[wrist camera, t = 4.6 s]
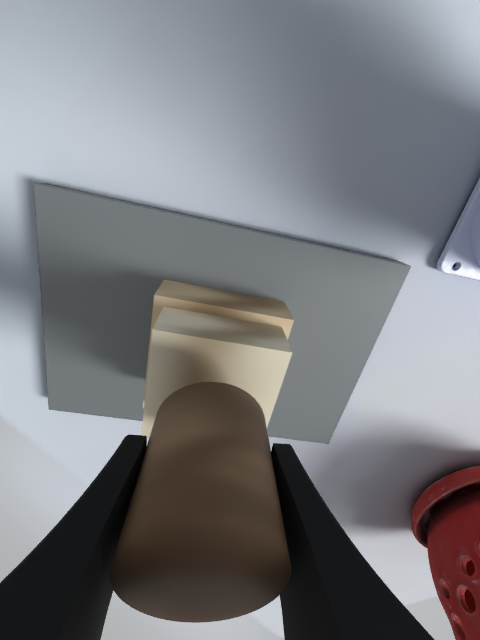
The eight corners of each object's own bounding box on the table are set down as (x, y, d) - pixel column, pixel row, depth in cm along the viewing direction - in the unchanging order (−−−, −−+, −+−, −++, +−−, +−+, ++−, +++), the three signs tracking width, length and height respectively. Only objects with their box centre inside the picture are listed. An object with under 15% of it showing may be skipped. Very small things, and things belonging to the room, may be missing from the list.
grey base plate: (401, 262, 17) (410, 266, 17) (324, 433, 23) (328, 443, 22) (45, 183, 15) (33, 183, 14) (56, 399, 20) (48, 409, 19)
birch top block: (281, 327, 15) (292, 352, 13) (254, 415, 17) (259, 450, 15) (163, 306, 14) (152, 329, 12) (152, 402, 17) (141, 437, 14)
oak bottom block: (284, 302, 17) (294, 320, 15) (256, 395, 20) (260, 423, 18) (163, 279, 16) (154, 294, 14) (152, 381, 19) (142, 408, 17)
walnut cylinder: (274, 386, 11) (309, 526, 6) (256, 467, 13) (273, 622, 8) (156, 376, 11) (104, 519, 6) (153, 462, 12) (113, 622, 8)
